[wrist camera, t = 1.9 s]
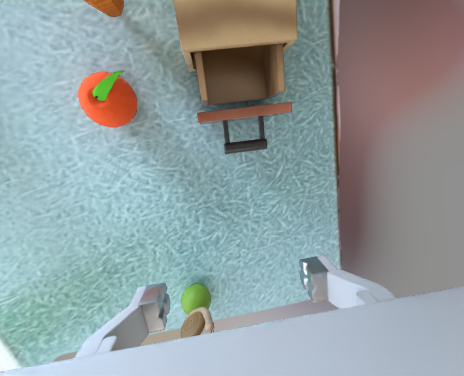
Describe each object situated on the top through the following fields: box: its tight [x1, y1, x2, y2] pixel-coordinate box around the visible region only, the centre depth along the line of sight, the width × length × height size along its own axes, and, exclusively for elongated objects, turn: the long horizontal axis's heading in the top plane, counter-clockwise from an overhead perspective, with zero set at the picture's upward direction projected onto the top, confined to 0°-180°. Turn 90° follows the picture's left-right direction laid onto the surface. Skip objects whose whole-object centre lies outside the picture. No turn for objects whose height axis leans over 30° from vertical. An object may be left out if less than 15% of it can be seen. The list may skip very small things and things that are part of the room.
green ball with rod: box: [181, 284, 214, 338], centre depth 37 cm, size 5×6×12 cm
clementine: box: [78, 71, 137, 127], centre depth 29 cm, size 8×7×7 cm
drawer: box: [194, 43, 292, 154], centre depth 29 cm, size 19×12×7 cm, turn 7°
